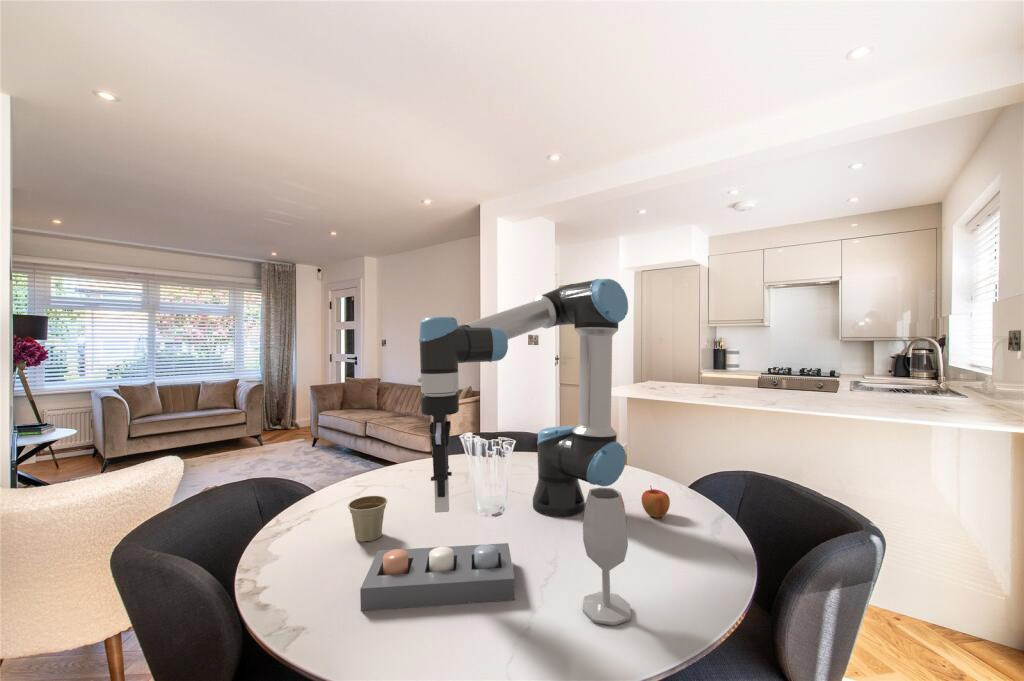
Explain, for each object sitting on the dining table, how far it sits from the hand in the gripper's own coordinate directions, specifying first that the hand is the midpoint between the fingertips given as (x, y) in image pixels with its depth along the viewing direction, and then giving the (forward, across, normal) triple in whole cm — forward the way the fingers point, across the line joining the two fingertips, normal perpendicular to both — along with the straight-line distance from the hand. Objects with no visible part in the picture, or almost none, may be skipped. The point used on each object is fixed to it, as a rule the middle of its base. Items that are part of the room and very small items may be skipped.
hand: (442, 510), depth 85 cm
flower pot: (+15, -23, -20) cm, 34 cm away
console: (+14, 0, 0) cm, 14 cm away
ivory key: (+12, 0, 0) cm, 12 cm away
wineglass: (+15, +12, +30) cm, 35 cm away
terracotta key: (+12, 0, -9) cm, 15 cm away
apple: (+15, -26, +56) cm, 63 cm away
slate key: (+12, 0, +9) cm, 15 cm away
